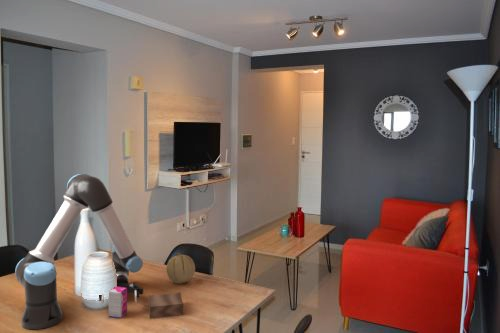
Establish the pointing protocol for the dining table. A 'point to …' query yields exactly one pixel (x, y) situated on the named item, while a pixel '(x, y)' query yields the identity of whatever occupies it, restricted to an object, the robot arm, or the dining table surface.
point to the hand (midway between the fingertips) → (119, 300)
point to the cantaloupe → (180, 268)
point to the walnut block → (165, 305)
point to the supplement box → (117, 302)
